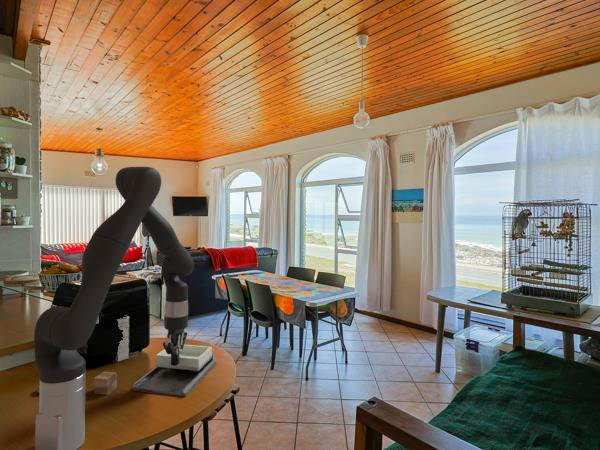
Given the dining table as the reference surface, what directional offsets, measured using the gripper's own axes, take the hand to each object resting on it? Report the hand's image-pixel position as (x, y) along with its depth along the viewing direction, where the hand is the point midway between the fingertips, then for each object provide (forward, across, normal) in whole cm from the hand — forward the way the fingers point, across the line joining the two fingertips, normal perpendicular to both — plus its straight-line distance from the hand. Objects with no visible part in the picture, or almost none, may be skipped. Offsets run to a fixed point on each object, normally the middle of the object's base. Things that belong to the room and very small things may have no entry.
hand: (174, 364), depth 123 cm
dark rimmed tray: (+5, +3, 0) cm, 6 cm away
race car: (+6, -12, +33) cm, 36 cm away
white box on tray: (+4, +8, 0) cm, 8 cm away
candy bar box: (+5, +13, +31) cm, 34 cm away
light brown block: (+6, -11, +17) cm, 21 cm away
